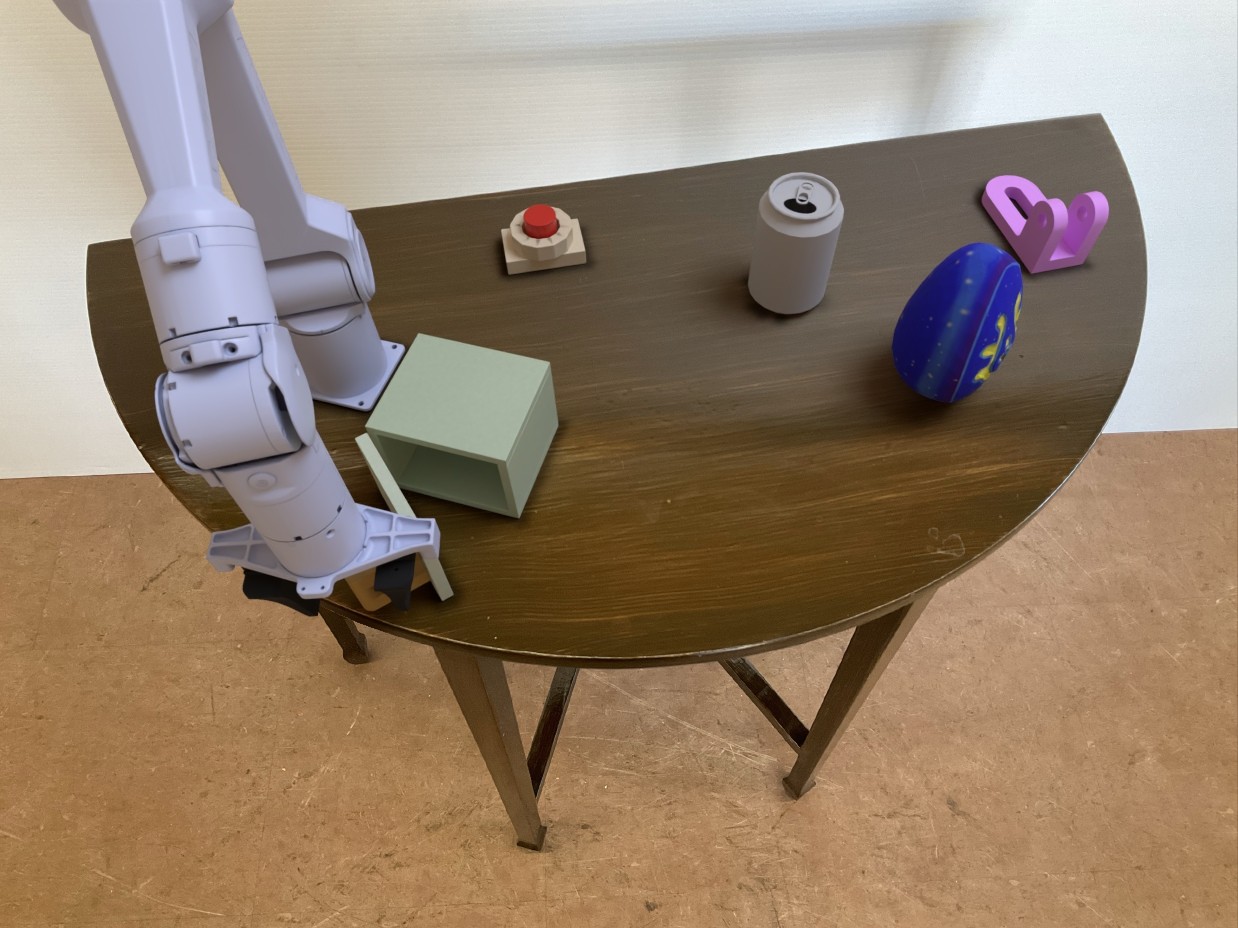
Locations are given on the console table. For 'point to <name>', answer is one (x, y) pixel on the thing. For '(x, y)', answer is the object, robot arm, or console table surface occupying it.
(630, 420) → the console table surface
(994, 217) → the bracket
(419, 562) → the door
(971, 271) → the ornament
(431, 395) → the cupboard
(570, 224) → the button box
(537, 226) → the button
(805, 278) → the can
